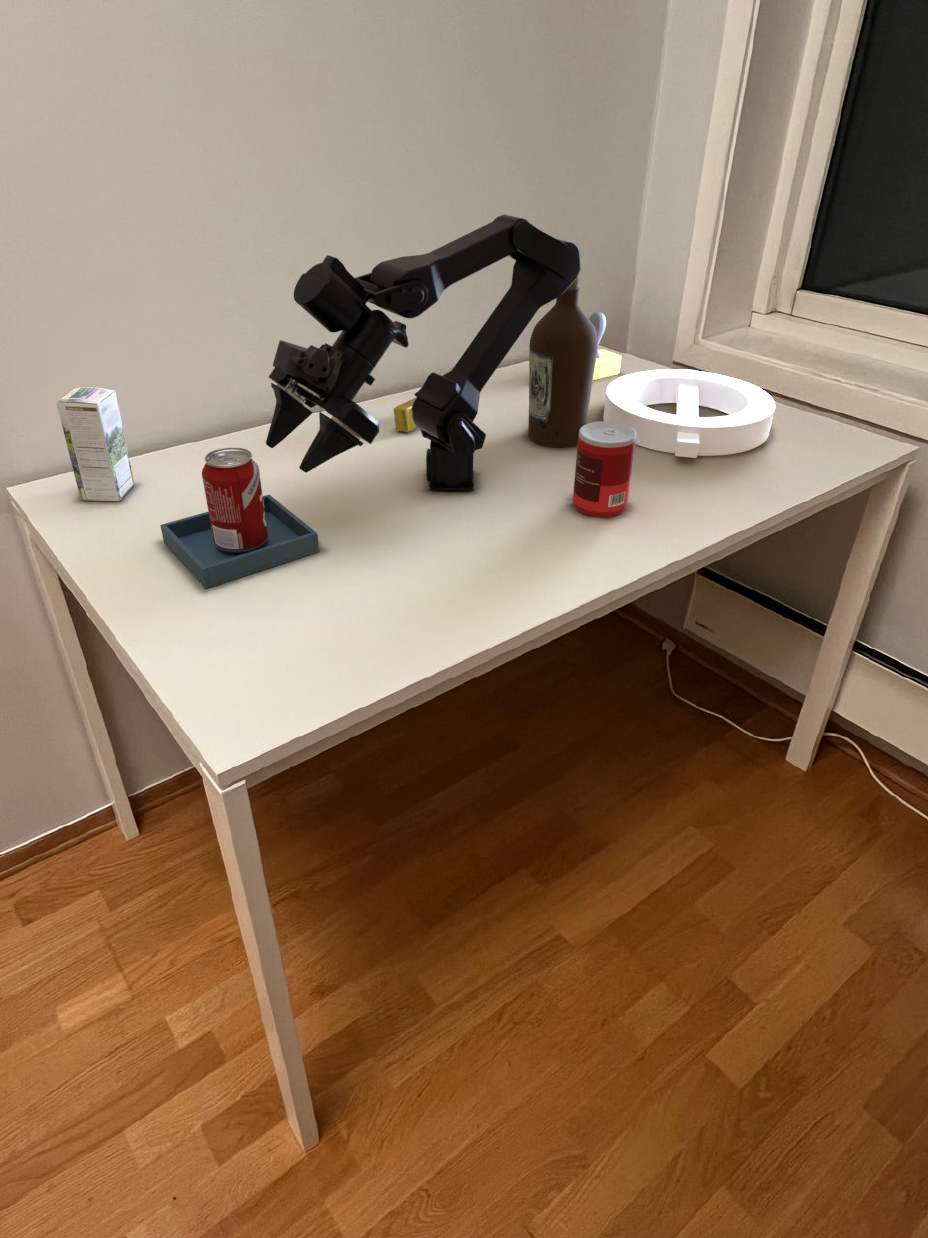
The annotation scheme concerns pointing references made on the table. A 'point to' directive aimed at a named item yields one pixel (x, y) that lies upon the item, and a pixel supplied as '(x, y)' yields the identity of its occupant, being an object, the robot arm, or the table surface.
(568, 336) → the olive oil
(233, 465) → the soda can
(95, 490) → the syrup box
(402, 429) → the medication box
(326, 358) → the robot arm
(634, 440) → the canned food
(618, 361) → the rubber stamp
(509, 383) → the table surface
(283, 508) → the tray
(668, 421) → the ring with crossbar
